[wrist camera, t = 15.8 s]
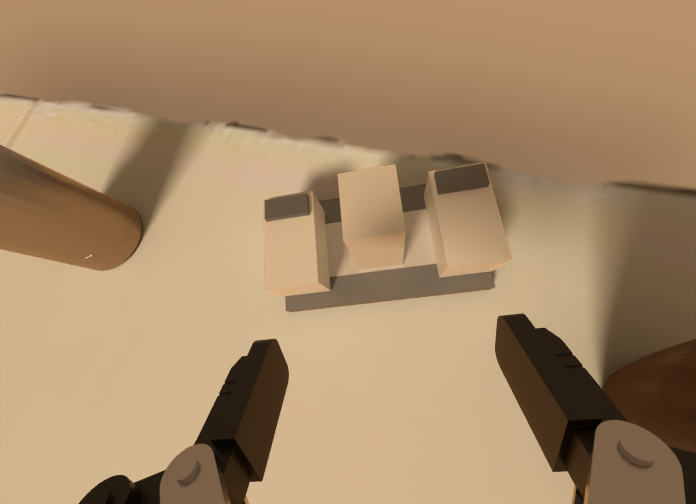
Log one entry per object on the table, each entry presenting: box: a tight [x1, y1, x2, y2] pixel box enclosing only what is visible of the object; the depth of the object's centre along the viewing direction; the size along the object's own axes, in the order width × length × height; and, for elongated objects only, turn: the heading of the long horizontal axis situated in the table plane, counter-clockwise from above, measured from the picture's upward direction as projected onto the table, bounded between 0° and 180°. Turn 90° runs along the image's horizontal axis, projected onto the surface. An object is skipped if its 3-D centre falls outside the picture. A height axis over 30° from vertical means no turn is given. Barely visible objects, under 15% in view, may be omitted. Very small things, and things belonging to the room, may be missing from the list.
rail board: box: [263, 162, 512, 312], centre depth 28 cm, size 21×12×7 cm, turn 96°
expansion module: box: [338, 164, 406, 270], centre depth 26 cm, size 4×6×10 cm
